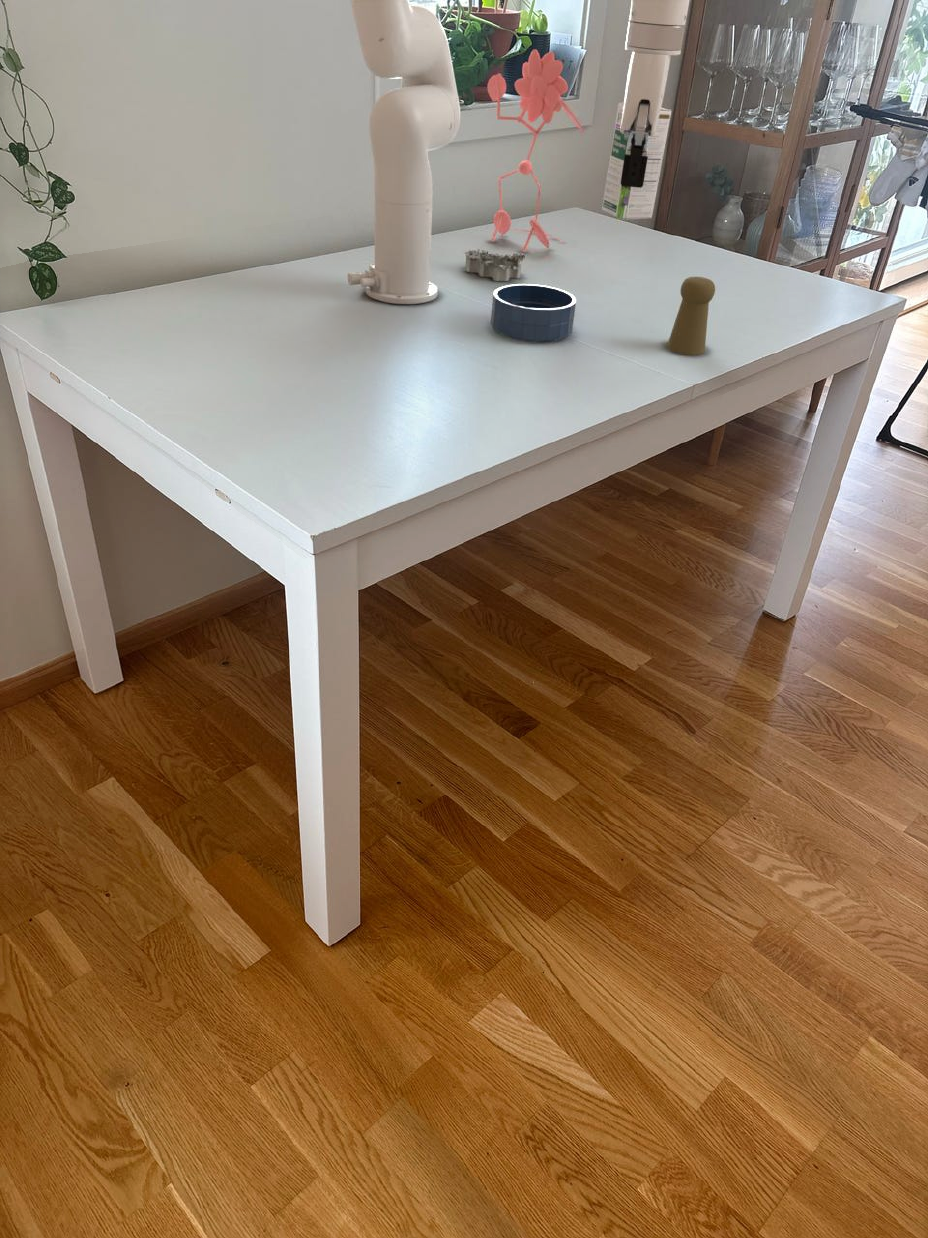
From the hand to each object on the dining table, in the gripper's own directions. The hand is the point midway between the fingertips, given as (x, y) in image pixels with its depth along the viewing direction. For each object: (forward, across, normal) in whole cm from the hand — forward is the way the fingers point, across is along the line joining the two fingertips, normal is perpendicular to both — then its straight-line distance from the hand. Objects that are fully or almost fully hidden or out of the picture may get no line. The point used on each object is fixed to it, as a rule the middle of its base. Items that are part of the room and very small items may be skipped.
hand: (632, 179), depth 136 cm
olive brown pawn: (+24, -1, +13) cm, 27 cm away
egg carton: (+24, -31, -23) cm, 46 cm away
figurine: (+24, -57, -19) cm, 65 cm away
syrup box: (+5, 0, 0) cm, 5 cm away
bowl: (+24, -1, -12) cm, 27 cm away
